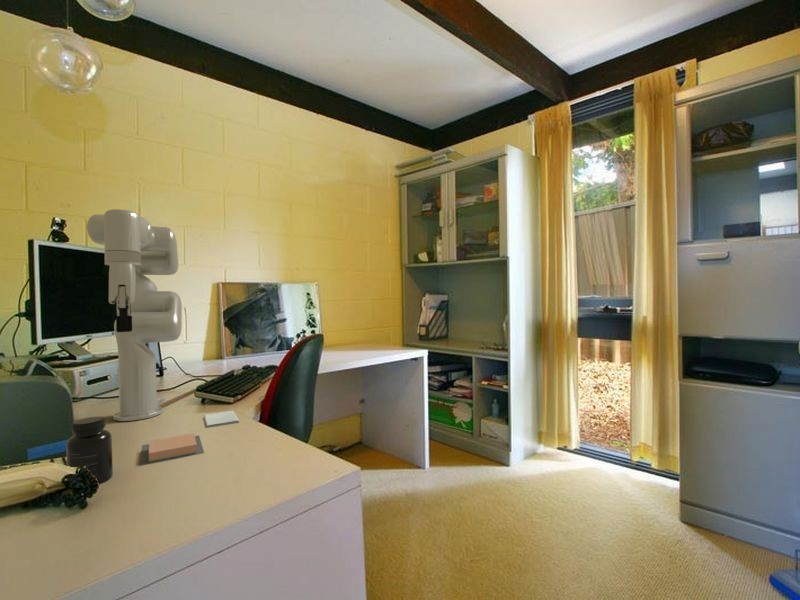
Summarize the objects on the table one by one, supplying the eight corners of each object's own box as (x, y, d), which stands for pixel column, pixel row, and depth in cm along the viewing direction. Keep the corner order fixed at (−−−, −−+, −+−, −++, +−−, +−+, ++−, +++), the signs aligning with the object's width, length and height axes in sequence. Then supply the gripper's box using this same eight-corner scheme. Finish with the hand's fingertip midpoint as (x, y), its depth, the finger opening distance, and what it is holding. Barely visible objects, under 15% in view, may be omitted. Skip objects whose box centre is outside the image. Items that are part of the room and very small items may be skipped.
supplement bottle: (74, 479, 76) (73, 417, 76) (117, 472, 79) (116, 412, 79) (60, 494, 70) (59, 427, 70) (107, 486, 72) (105, 422, 73)
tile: (149, 440, 90) (148, 453, 82) (193, 433, 95) (196, 444, 87) (149, 449, 90) (148, 462, 82) (194, 441, 95) (196, 453, 87)
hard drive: (239, 420, 109) (233, 409, 120) (206, 425, 105) (203, 414, 116) (239, 426, 109) (233, 415, 120) (206, 431, 105) (203, 419, 116)
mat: (142, 446, 93) (142, 445, 93) (199, 436, 99) (199, 435, 99) (139, 467, 81) (139, 465, 81) (204, 454, 87) (204, 452, 87)
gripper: (108, 261, 104) (109, 331, 104) (100, 255, 91) (102, 334, 91) (142, 262, 108) (143, 329, 107) (139, 257, 95) (140, 332, 95)
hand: (124, 331), depth 99 cm, fingers closed
